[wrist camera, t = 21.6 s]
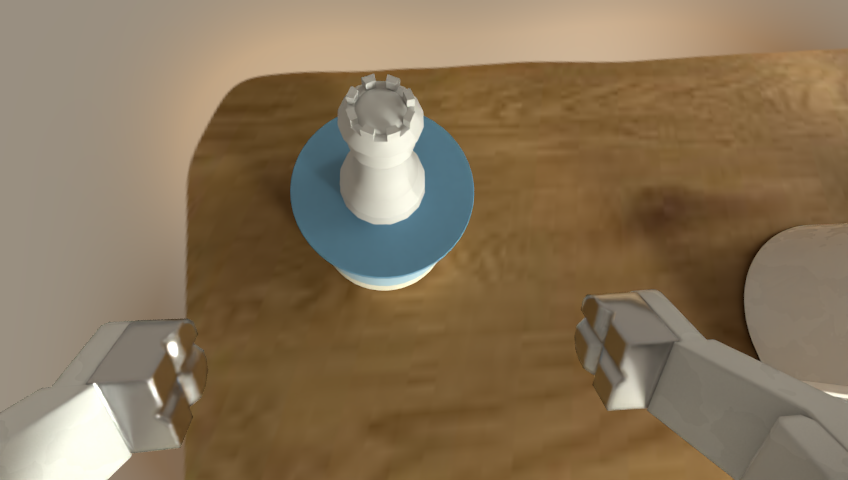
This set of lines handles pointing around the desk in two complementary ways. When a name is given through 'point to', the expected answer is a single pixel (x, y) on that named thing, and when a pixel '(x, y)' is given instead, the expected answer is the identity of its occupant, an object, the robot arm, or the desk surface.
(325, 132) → the yogurt tub
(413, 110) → the rook chess piece
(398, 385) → the desk surface
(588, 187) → the desk surface
